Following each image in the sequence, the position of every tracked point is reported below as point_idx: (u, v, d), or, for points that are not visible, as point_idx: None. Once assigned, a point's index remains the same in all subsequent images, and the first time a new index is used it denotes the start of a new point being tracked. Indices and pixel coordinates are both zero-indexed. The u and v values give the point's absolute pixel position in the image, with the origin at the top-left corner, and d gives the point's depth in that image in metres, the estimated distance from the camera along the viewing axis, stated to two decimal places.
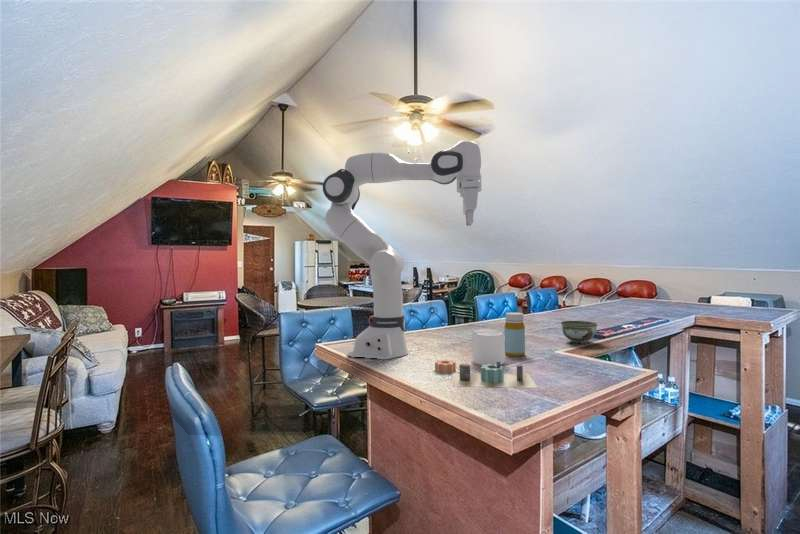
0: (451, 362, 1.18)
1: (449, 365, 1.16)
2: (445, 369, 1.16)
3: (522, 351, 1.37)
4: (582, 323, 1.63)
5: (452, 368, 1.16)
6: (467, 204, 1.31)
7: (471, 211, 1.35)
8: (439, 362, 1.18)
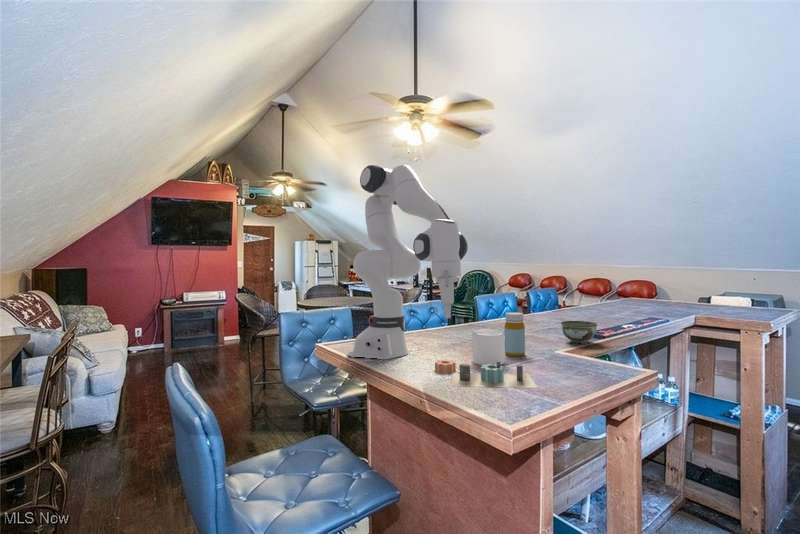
0: (451, 362, 1.18)
1: (449, 365, 1.16)
2: (445, 369, 1.16)
3: (522, 351, 1.37)
4: (582, 323, 1.63)
5: (452, 368, 1.16)
6: None
7: None
8: (439, 362, 1.18)
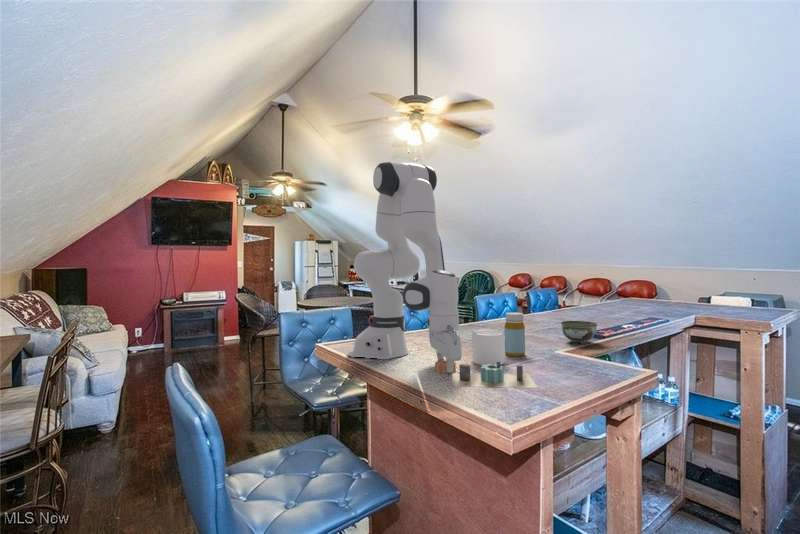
0: None
1: None
2: (445, 369, 1.16)
3: (522, 351, 1.37)
4: (582, 323, 1.63)
5: None
6: None
7: None
8: (439, 362, 1.18)
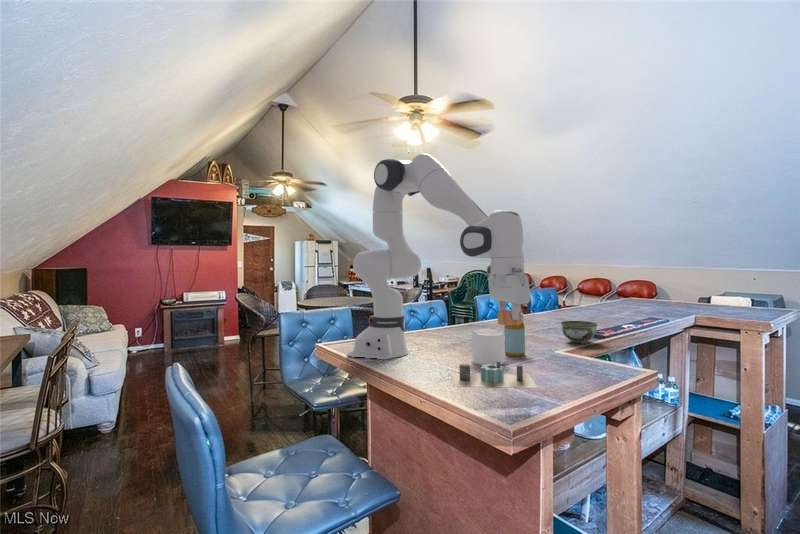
0: None
1: None
2: None
3: (522, 351, 1.37)
4: (582, 323, 1.63)
5: None
6: None
7: None
8: (502, 311, 1.08)
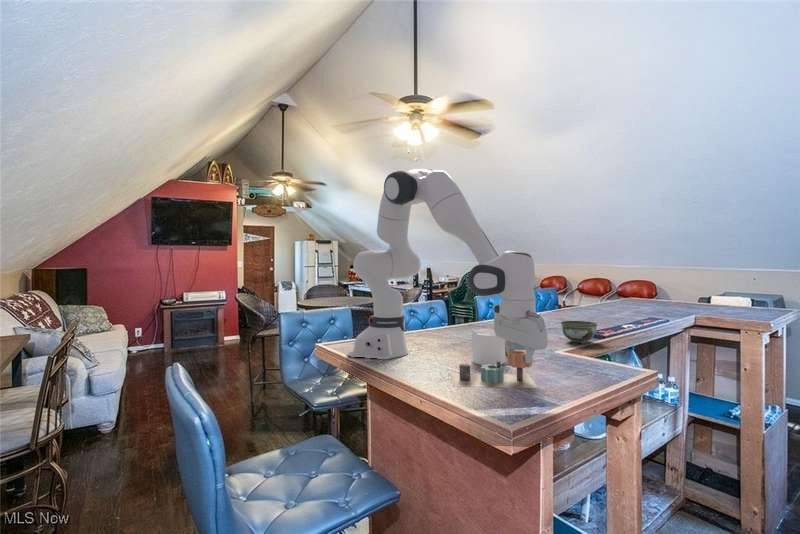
0: None
1: None
2: None
3: None
4: (582, 323, 1.63)
5: None
6: None
7: None
8: (513, 352, 1.07)
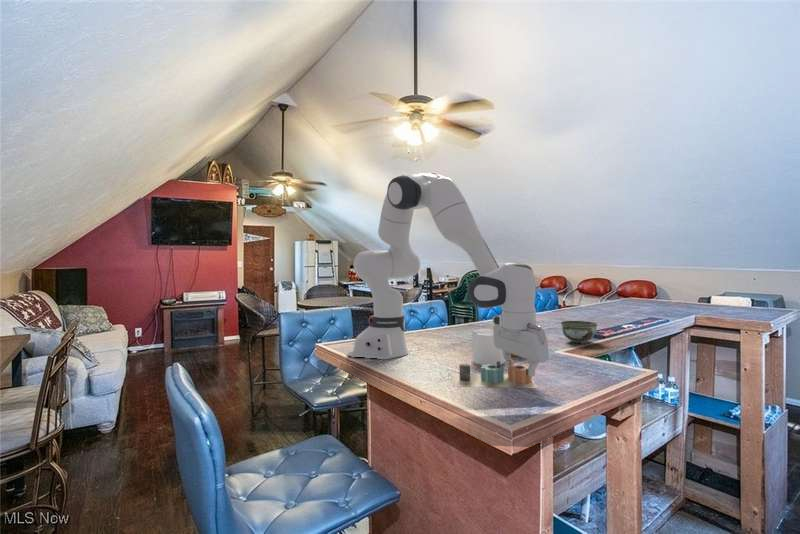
0: (527, 367, 1.07)
1: None
2: (523, 375, 1.04)
3: None
4: (582, 323, 1.63)
5: None
6: None
7: None
8: (513, 367, 1.07)
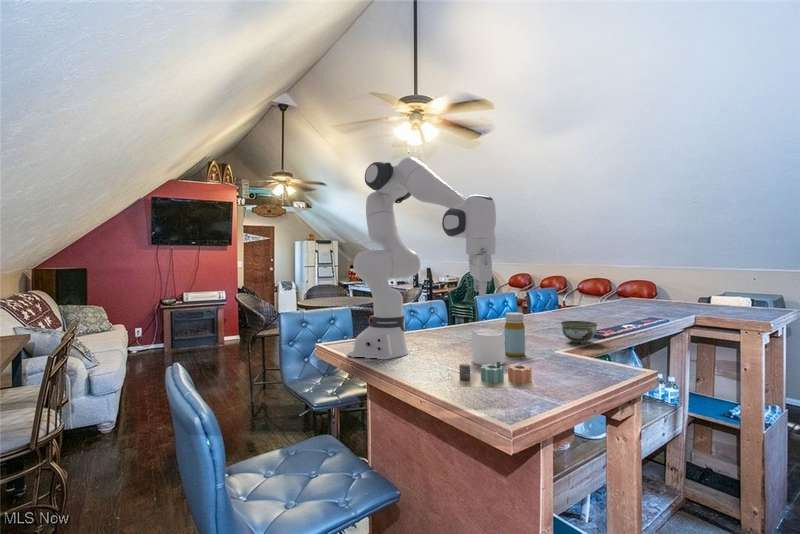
0: (527, 367, 1.07)
1: (526, 370, 1.05)
2: (523, 375, 1.04)
3: (522, 351, 1.37)
4: (582, 323, 1.63)
5: (530, 374, 1.05)
6: None
7: None
8: (513, 367, 1.07)
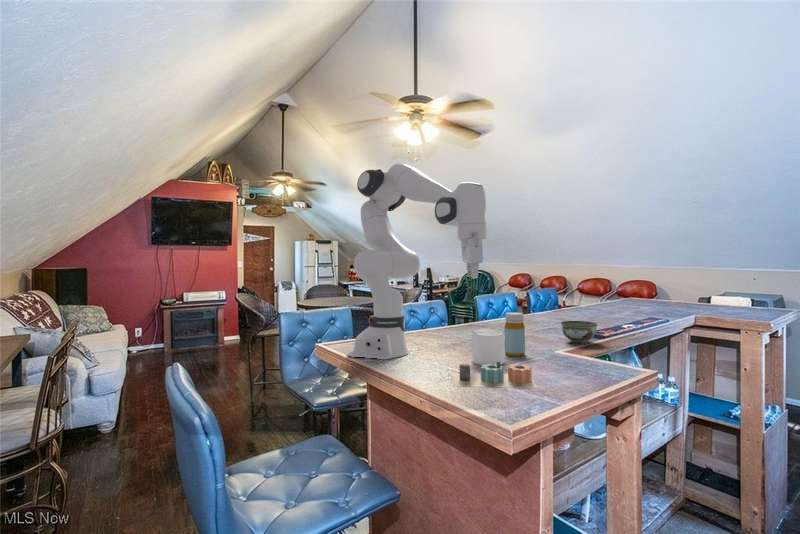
0: (527, 367, 1.07)
1: (526, 370, 1.05)
2: (523, 375, 1.04)
3: (522, 351, 1.37)
4: (582, 323, 1.63)
5: (530, 374, 1.05)
6: None
7: None
8: (513, 367, 1.07)
